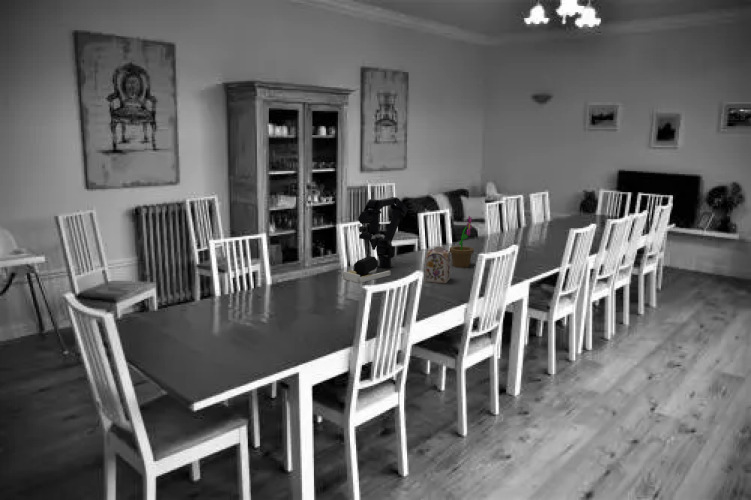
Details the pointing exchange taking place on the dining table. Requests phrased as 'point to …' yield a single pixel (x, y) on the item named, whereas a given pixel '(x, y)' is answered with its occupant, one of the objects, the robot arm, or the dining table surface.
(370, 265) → the security camera
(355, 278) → the tester cradle
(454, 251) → the flowerpot
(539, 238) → the dining table surface
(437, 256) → the decorative jar
